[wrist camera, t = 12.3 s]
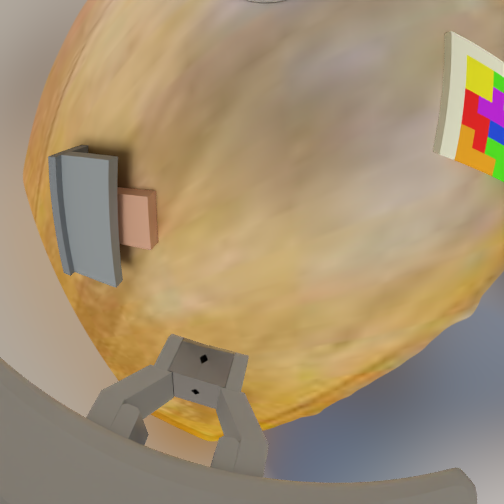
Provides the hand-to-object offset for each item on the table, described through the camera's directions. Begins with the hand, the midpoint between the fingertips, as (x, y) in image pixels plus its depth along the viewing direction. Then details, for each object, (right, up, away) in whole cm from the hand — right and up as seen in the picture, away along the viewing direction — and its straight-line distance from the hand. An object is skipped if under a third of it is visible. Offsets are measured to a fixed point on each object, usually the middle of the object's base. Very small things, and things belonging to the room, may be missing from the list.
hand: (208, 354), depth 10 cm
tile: (-22, +11, +38) cm, 45 cm away
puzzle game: (+45, +22, +20) cm, 54 cm away
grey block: (-26, +12, +38) cm, 48 cm away
